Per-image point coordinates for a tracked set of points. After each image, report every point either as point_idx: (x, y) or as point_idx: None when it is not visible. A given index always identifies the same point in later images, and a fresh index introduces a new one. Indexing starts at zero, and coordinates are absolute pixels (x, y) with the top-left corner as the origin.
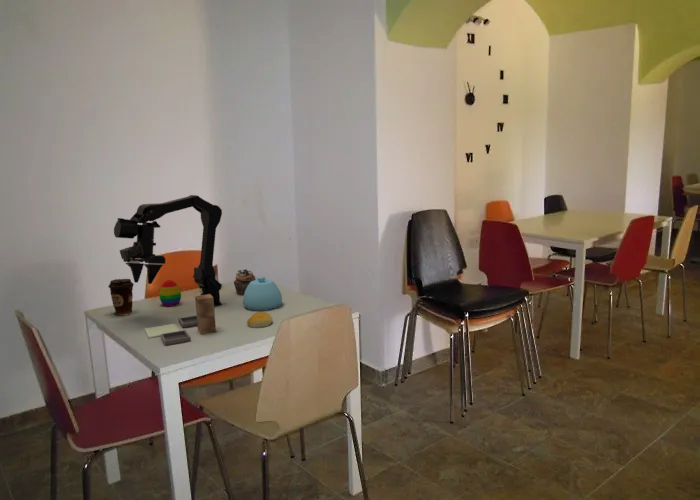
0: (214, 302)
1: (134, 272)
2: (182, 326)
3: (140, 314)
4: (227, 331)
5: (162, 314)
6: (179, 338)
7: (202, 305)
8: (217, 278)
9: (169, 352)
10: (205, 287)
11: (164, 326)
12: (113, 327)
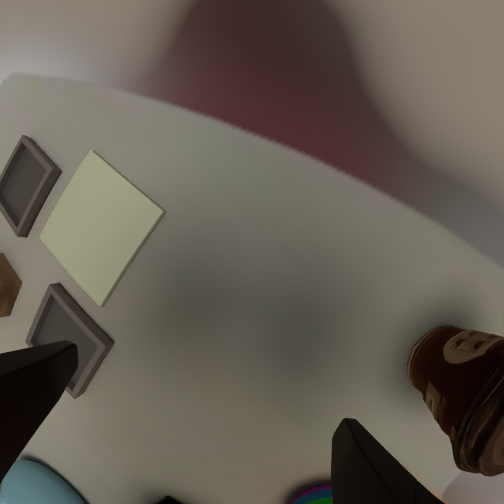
0: None
1: (381, 500)
2: (60, 288)
3: (360, 380)
4: None
5: (259, 413)
6: (3, 171)
7: None
8: None
9: (12, 119)
10: None
11: (109, 265)
12: (332, 187)
